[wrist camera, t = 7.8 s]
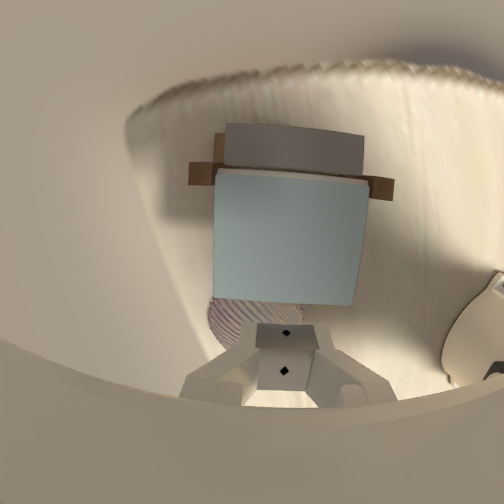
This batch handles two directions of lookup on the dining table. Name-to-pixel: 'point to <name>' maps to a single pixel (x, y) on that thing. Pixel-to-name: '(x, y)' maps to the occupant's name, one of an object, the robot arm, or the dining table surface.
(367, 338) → the dining table surface
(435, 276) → the dining table surface
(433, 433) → the robot arm
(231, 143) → the trapdoor
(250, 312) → the seashell
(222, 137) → the frame
